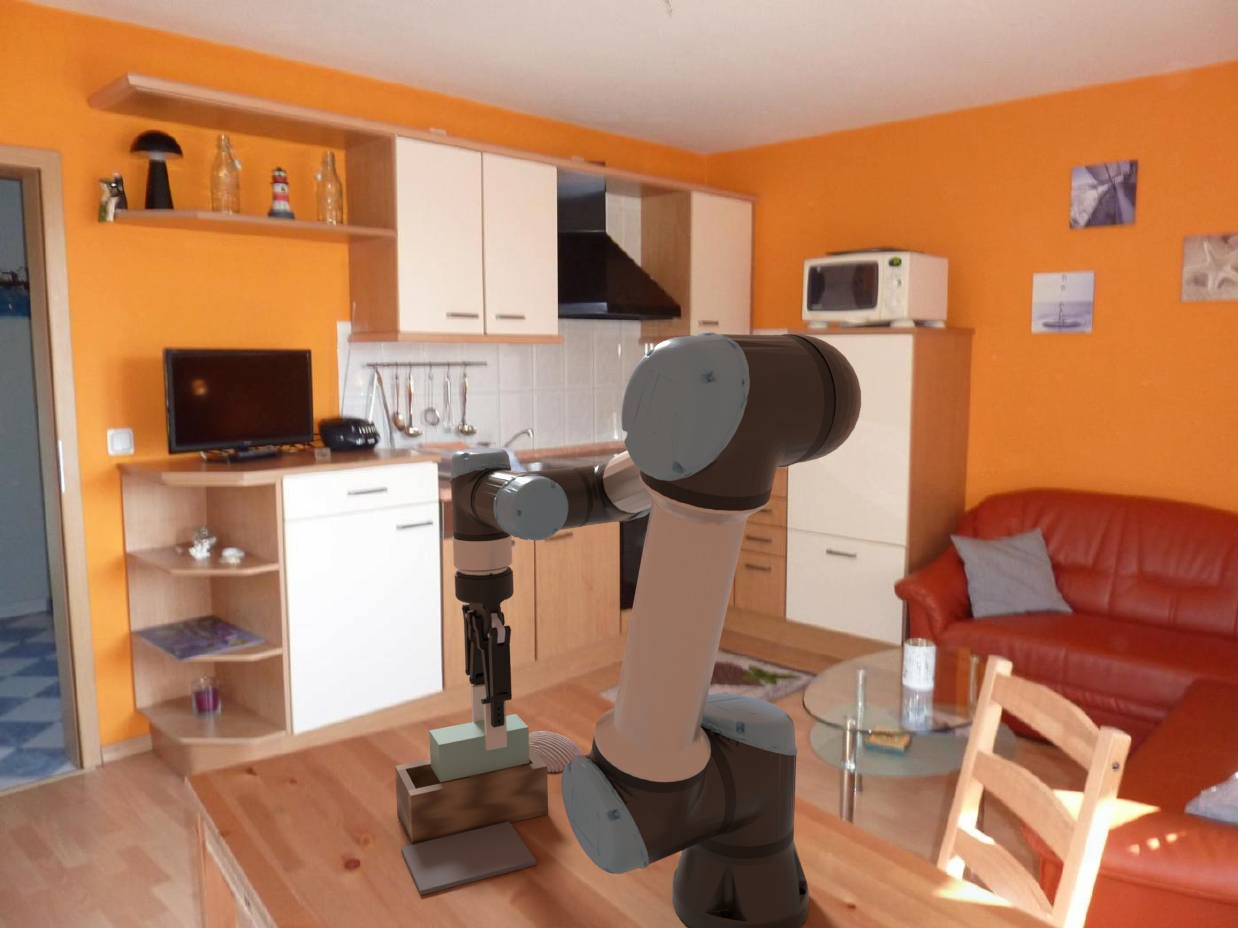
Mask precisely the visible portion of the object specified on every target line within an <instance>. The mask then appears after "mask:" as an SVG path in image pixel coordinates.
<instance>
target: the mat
mask: <svg viewBox="0 0 1238 928" xmlns="http://www.w3.org/2000/svg"><path fill="white" fill-rule="evenodd" d="M400 850H401V854H402V856H403V859H404V861H405V863H406V865H407V868H408V870H409V873H410V875H411V877H412V879H413V882H414V884H415V886H416V889H417V891H418V893H419V896H424V895H427V894H431V893H435V892H439V891H442V890H446V889H451V888H455V887H457V886H462V885H466V884H470V883H474V882H476V881H481V880H485V879H488V878H492V877H497V876H498V875H499V876H500V875H503V874H507V873H510V872H514V871H515V872H516V871H518V870H522V869H527V868H530V867H533V866H536V865H537V860H536V858H535V857H534V856H533V854H532V852H531V851H530V849H529V848H528V847H527V845H526V844H525V842H524V841H523V840H522V838H521V836H520V834H519V833H518V832H517V831H516V829H515V828H514V826H513V825H512V823H510V822H505V823H501V824H497V825H493V826H488V827H484V828H480V829H476V830H472V831H468V832H463V833H459V834H455V835H451V836H447V837H443V838H438V839H434V840H430V841H426V842H422V843H418V844H413V845H410V844H409V845H406V846H401V848H400Z"/></svg>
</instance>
